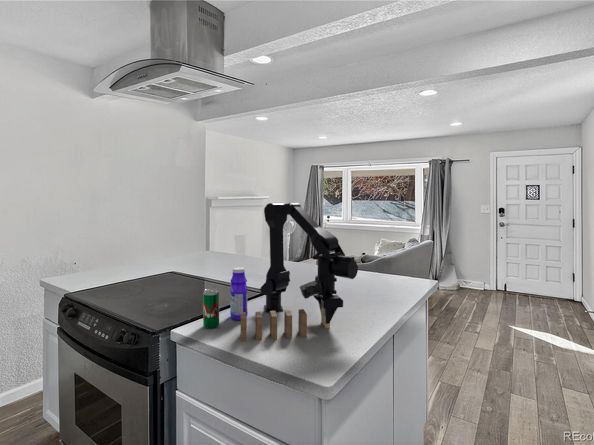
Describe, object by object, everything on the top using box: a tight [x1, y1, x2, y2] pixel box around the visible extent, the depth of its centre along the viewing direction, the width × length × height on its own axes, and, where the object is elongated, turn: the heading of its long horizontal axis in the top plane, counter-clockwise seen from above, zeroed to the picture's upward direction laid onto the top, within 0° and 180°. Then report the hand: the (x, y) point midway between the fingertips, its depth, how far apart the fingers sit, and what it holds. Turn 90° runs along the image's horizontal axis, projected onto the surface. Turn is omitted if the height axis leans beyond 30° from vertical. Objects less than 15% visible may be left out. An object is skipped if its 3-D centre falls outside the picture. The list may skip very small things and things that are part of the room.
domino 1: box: [240, 312, 248, 342], centre depth 105 cm, size 5×2×7 cm, turn 11°
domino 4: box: [283, 309, 293, 339], centre depth 108 cm, size 5×2×7 cm, turn 11°
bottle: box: [229, 266, 248, 321], centre depth 122 cm, size 7×6×17 cm
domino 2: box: [254, 310, 263, 341], centre depth 106 cm, size 5×2×7 cm, turn 11°
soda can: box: [202, 288, 220, 330], centre depth 114 cm, size 5×5×12 cm
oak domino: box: [320, 307, 331, 329], centre depth 116 cm, size 5×2×7 cm, turn 11°
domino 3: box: [269, 311, 278, 340], centre depth 107 cm, size 5×2×7 cm, turn 11°
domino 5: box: [297, 308, 308, 338], centre depth 109 cm, size 5×2×7 cm, turn 11°
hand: (325, 320), depth 116 cm, fingers closed on oak domino, 5 cm apart
